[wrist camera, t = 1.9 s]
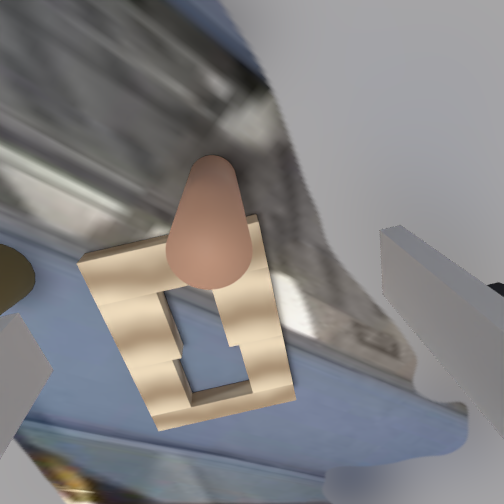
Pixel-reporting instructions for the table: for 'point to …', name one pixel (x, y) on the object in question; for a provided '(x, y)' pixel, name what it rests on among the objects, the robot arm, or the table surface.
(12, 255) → the cork
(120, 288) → the keyhole board
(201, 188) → the peg
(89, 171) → the table surface
